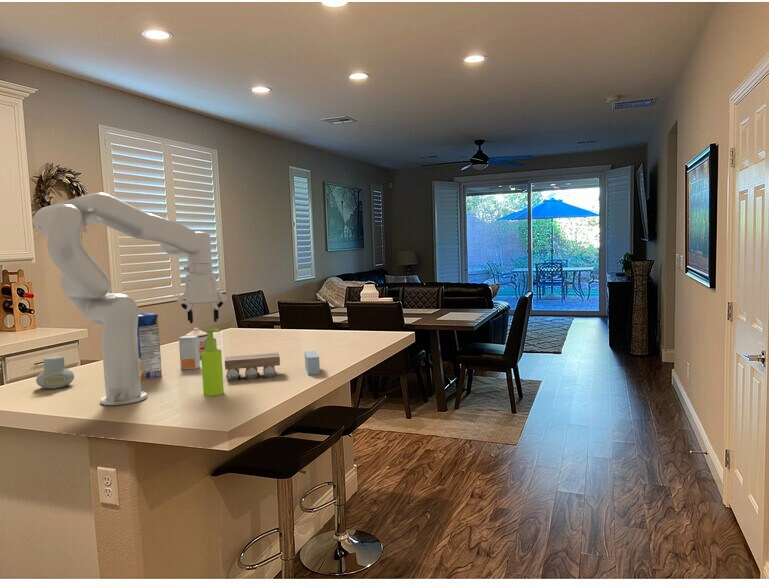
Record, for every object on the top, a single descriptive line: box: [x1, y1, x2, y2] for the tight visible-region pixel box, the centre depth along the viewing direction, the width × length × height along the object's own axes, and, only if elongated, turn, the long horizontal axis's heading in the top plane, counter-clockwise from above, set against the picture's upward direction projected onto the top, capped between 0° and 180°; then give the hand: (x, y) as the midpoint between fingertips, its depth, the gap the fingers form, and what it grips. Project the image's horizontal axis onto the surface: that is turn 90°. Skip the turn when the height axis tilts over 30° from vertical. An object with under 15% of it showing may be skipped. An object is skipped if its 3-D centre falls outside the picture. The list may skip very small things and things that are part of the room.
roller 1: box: [225, 368, 241, 382], centre depth 190 cm, size 11×4×4 cm, turn 13°
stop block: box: [304, 350, 321, 376], centre depth 196 cm, size 12×4×6 cm, turn 13°
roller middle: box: [244, 367, 259, 381], centre depth 192 cm, size 11×4×4 cm, turn 13°
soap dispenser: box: [200, 327, 225, 397], centre depth 168 cm, size 6×7×20 cm
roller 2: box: [262, 366, 277, 379], centre depth 193 cm, size 11×4×4 cm, turn 13°
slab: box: [224, 352, 281, 371], centre depth 191 cm, size 8×18×3 cm, turn 103°
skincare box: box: [178, 335, 201, 370], centre depth 209 cm, size 6×4×12 cm
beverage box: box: [137, 312, 163, 380], centre depth 198 cm, size 7×11×22 cm, turn 42°
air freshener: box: [35, 355, 75, 390], centre depth 185 cm, size 11×8×10 cm
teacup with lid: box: [184, 327, 207, 358], centre depth 236 cm, size 12×9×12 cm
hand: (203, 321), depth 187 cm, fingers open, 7 cm apart
